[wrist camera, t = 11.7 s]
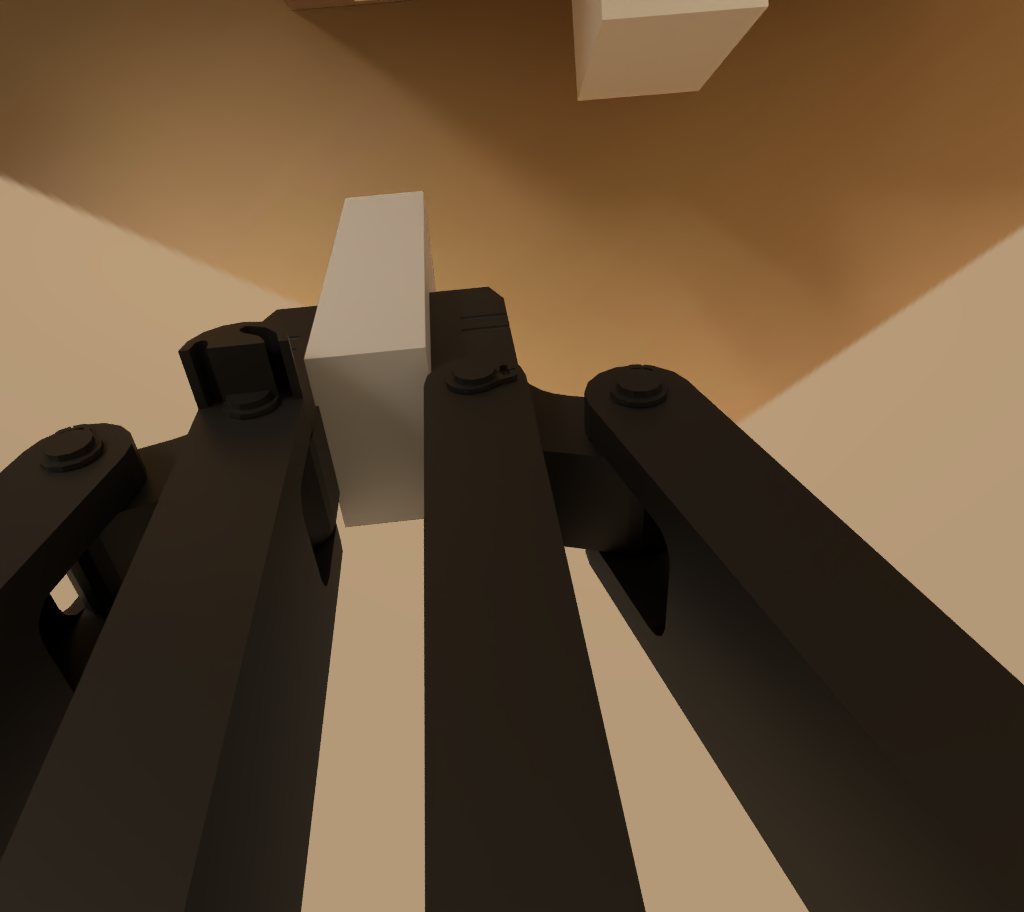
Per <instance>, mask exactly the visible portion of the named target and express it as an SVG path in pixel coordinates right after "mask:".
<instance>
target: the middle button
mask: <svg viewBox="0 0 1024 912" xmlns="http://www.w3.org/2000/svg"><path fill="white" fill-rule="evenodd" d="M768 6H769V3H768V0H572V14H573V31H574V48H575V65H576V82H577V99H578V101H582V100H595V99H607V98H619V97H631V96H643V95H655V94H667V93H679V92H691V91H699V90H700V89H701V87H702V86H703V85H704V84H705V83H706V81H707V80H708V79H709V78H710V77H711V75H712V74H713V73H714V72H715V70H716V69H717V68H718V67H719V66H720V64H721V63H722V62H723V61H724V60H725V58H726V57H727V56H728V55H729V54H730V52H731V51H732V50H733V49H734V47H735V46H736V45H737V44H738V43H739V41H740V40H741V39H742V38H743V37H744V35H745V34H746V33H747V32H748V31H749V29H750V28H751V27H752V26H753V24H754V23H755V22H756V21H757V20H758V18H759V17H760V16H761V15H762V14H763V12H764V11H765V10H766V9H767V8H768Z"/></svg>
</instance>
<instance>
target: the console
mask: <svg viewBox="0 0 1024 912" xmlns="http://www.w3.org/2000/svg"><path fill="white" fill-rule="evenodd" d="M285 1H286V3H287V4H288V5H289V7H290V8H291V10H299V9H311V8H323V7H335V6H347V5H358V4H370V3H382V2H394V1H406V0H366V1H354V0H285Z"/></svg>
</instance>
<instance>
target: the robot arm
mask: <svg viewBox="0 0 1024 912" xmlns="http://www.w3.org/2000/svg"><path fill="white" fill-rule="evenodd" d="M178 352H179V355H180V358H181V360H182V364H183V367H184V369H185V372H186V375H187V378H188V381H189V383H190V386H191V389H192V392H193V395H194V398H195V401H196V403H197V406H198V409H199V410H198V412H197V415H196V416H195V419H194V421H193V423H192V426H191V428H190V430H189V432H188V434H187V435H185V436H182V437H179V438H176V439H173V440H169V441H166V442H162V443H159V444H156V445H151V446H148V447H145V448H141V449H137V447H136V445H135V443H134V440H133V438H132V436H131V433H130V432H129V431H127V430H126V429H124V428H123V427H121V426H118V425H113V424H107V423H101V424H82V425H77V426H73V428H71V427H68V428H65V429H62V430H59V431H57V432H56V433H55V434H53V435H51V436H49V437H46V438H44V439H42V440H40V441H39V442H37V443H36V444H34V445H33V446H31V447H30V448H29V449H27V450H26V451H24V452H23V453H22V454H21V455H20V456H18V457H17V458H16V459H15V460H14V461H13V462H12V463H11V464H10V465H8V466H7V467H6V468H5V469H4V470H3V471H2V472H1V473H0V912H301V906H302V898H303V888H304V879H305V872H306V863H307V855H308V846H309V837H310V829H311V820H312V811H313V802H314V794H315V786H316V777H317V768H318V760H319V751H320V742H321V733H322V724H323V716H324V708H325V699H326V691H327V682H328V673H329V665H330V656H331V648H332V639H333V630H334V622H335V613H336V604H337V596H338V587H339V579H340V570H341V561H342V552H343V551H342V545H341V540H340V536H339V532H338V528H337V524H336V518H337V510H338V503H340V507H341V511H342V515H343V520H344V524H345V527H352V526H361V525H370V524H379V523H388V522H398V521H407V520H416V519H424V655H425V656H424V657H425V658H424V670H425V672H424V679H425V680H424V681H425V683H424V686H425V912H646V911H645V907H644V902H643V898H642V894H641V889H640V884H639V881H638V876H637V871H636V867H635V862H634V858H633V853H632V849H631V844H630V840H629V835H628V831H627V826H626V822H625V817H624V813H623V808H622V804H621V799H620V795H619V790H618V786H617V782H616V777H615V772H614V768H613V764H612V759H611V755H610V750H609V746H608V741H607V737H606V732H605V728H604V723H603V719H602V714H601V710H600V706H599V701H598V696H597V692H596V687H595V683H594V678H593V674H592V669H591V665H590V661H589V656H588V652H587V648H586V643H585V638H584V634H583V629H582V625H581V620H580V616H579V611H578V607H577V603H576V598H575V593H574V589H573V584H572V580H571V575H570V571H569V566H568V562H567V557H566V554H565V548H564V546H566V547H574V548H582V549H586V554H587V558H588V560H589V563H590V565H591V567H592V569H593V570H594V572H595V573H596V575H597V577H598V578H599V579H600V581H601V583H602V584H603V586H604V588H605V589H606V591H607V592H608V594H609V596H610V597H611V599H612V600H613V602H614V603H615V605H616V606H617V608H618V610H619V611H620V613H621V614H622V616H623V618H624V619H625V621H626V622H627V624H628V626H629V627H630V629H631V630H632V632H633V634H634V635H635V637H636V638H637V640H638V641H639V643H640V645H641V646H642V648H643V649H644V651H645V652H646V654H647V656H648V657H649V659H650V660H651V662H652V664H653V665H654V667H655V668H656V670H657V671H658V673H659V675H660V676H661V678H662V679H663V681H664V683H665V684H666V686H667V687H668V689H669V690H670V692H671V694H672V695H673V697H674V698H675V700H676V702H677V703H678V705H679V706H680V708H681V709H682V711H683V712H684V714H685V716H686V717H687V719H688V721H689V722H690V724H691V725H692V727H693V728H694V730H695V732H696V733H697V735H698V736H699V738H700V739H701V741H702V743H703V744H704V746H705V747H706V749H707V751H708V752H709V754H710V755H711V757H712V758H713V760H714V762H715V763H716V765H717V766H718V768H719V770H720V771H721V773H722V774H723V776H724V778H725V779H726V781H727V782H728V784H729V785H730V787H731V789H732V790H733V792H734V793H735V795H736V796H737V798H738V800H739V801H740V802H741V804H742V806H743V807H744V809H745V811H746V812H747V814H748V816H749V817H750V819H751V820H752V822H753V823H754V825H755V827H756V828H757V830H758V831H759V833H760V834H761V836H762V838H763V839H764V841H765V842H766V844H767V846H768V847H769V849H770V850H771V852H772V854H773V855H774V857H775V858H776V860H777V861H778V863H779V865H780V866H781V868H782V869H783V871H784V873H785V874H786V876H787V877H788V879H789V880H790V882H791V884H792V885H793V887H794V888H795V890H796V892H797V893H798V895H799V896H800V898H801V899H802V901H803V902H804V904H805V906H806V907H807V909H808V911H809V912H1024V685H1023V684H1022V683H1021V682H1020V681H1019V680H1018V679H1017V678H1016V677H1014V676H1013V675H1012V674H1011V673H1010V672H1009V671H1008V670H1007V669H1006V668H1004V667H1003V666H1002V665H1001V664H1000V663H999V662H998V661H997V660H996V659H995V658H993V657H992V656H991V655H990V654H989V653H988V652H987V651H986V650H985V649H984V648H982V647H981V646H980V645H979V644H978V643H977V642H976V641H975V640H974V639H972V638H971V637H970V636H969V635H968V634H967V633H966V632H965V631H964V630H962V629H961V628H960V627H959V626H958V625H957V624H956V623H955V622H953V620H951V619H950V618H949V617H948V616H947V615H946V614H945V613H944V612H943V611H942V610H940V609H939V608H938V607H937V606H936V605H935V604H934V603H933V602H932V601H930V600H929V599H928V598H927V597H926V596H925V595H924V594H923V593H922V592H920V591H919V590H918V589H917V588H916V587H915V586H914V585H913V584H912V583H911V582H910V581H908V580H907V579H906V578H905V577H904V576H903V575H902V574H901V573H899V572H898V571H897V570H896V569H895V568H894V567H893V566H892V565H891V564H890V563H889V562H887V561H886V560H885V559H884V558H883V557H882V556H881V555H880V554H879V553H877V552H876V551H875V550H874V549H873V548H872V547H871V546H870V545H869V544H868V543H866V542H865V541H864V540H863V539H862V538H861V537H860V536H859V535H858V534H856V533H855V532H854V531H853V530H852V529H851V528H850V527H849V526H848V525H847V524H845V523H844V522H843V521H842V520H841V519H840V518H839V517H838V516H837V515H835V514H834V513H833V512H832V511H831V510H830V509H829V508H828V507H827V506H826V505H824V504H823V503H822V502H821V501H820V500H819V499H818V498H817V497H816V496H814V495H813V494H812V493H811V492H810V491H809V490H808V489H807V488H806V487H805V486H803V485H802V484H801V483H800V482H799V481H798V480H797V479H796V478H795V477H793V476H792V475H791V474H790V473H789V472H788V471H787V470H786V469H785V468H784V467H782V466H781V465H780V464H779V463H778V462H777V461H776V460H775V459H774V458H772V457H771V456H770V455H769V454H768V453H767V452H766V451H765V450H764V449H763V448H761V447H760V446H759V445H758V444H757V443H756V442H754V440H753V439H751V438H750V437H749V436H748V435H747V434H746V433H745V432H744V431H743V430H741V429H740V428H739V427H738V426H737V425H736V424H735V423H734V422H733V421H732V420H731V419H729V418H728V417H727V416H726V415H725V414H724V413H723V412H722V411H721V410H719V409H718V408H717V407H716V406H715V405H714V404H713V403H712V402H711V401H710V400H708V399H707V398H706V397H705V396H704V395H703V394H702V393H701V392H700V391H698V390H697V389H696V388H695V387H694V386H693V385H692V384H691V383H690V382H689V381H687V380H686V379H684V378H683V377H681V376H679V375H678V374H676V373H675V372H673V371H669V370H665V369H662V368H658V367H655V366H651V365H644V366H641V365H629V366H624V367H616V368H613V369H610V370H607V371H605V372H602V373H599V374H598V375H597V376H595V377H594V378H593V379H592V380H590V381H589V382H588V384H587V387H586V390H585V393H584V397H577V396H566V395H559V394H553V393H550V392H546V391H543V390H540V389H538V388H536V387H534V386H532V385H530V384H529V383H528V382H527V378H526V375H525V373H524V372H523V370H522V368H521V367H520V366H519V365H518V362H517V358H516V353H515V349H514V344H513V339H512V335H511V330H510V327H509V321H508V316H507V312H506V307H505V303H504V298H503V297H501V296H500V295H499V294H497V293H496V292H495V291H493V290H492V289H491V288H489V287H481V288H471V289H461V290H450V291H440V292H436V287H435V279H434V271H433V263H432V255H431V248H430V240H429V232H428V224H427V216H426V208H425V200H424V192H423V191H415V192H404V193H393V194H382V195H371V196H360V197H349V198H345V202H344V206H343V210H342V214H341V218H340V221H339V225H338V229H337V233H336V237H335V241H334V245H333V249H332V252H331V256H330V260H329V264H328V268H327V272H326V276H325V280H324V283H323V287H322V291H321V295H320V299H319V303H318V306H310V307H300V308H290V309H280V310H276V311H275V312H274V313H272V314H271V315H270V316H269V317H267V318H266V319H265V320H264V321H263V322H242V323H236V324H230V325H225V326H221V327H218V328H215V329H212V330H209V331H206V332H203V333H201V334H200V335H198V336H196V337H194V338H193V339H191V340H189V341H188V342H187V343H186V344H185V345H184V346H183V347H182V348H181V349H180V350H179V351H178ZM66 574H67V576H68V577H69V579H70V581H71V582H72V585H73V586H74V588H75V590H76V592H77V594H78V595H79V596H78V598H77V599H76V600H75V601H74V603H73V604H72V605H71V606H70V607H69V608H68V609H66V610H65V611H64V612H62V611H61V610H60V609H59V608H58V607H57V605H56V603H55V602H54V600H53V598H52V596H51V595H50V592H51V591H52V590H53V589H54V587H55V586H56V585H57V584H58V583H59V582H60V581H61V579H62V578H63V577H64V576H65V575H66Z"/></svg>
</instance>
